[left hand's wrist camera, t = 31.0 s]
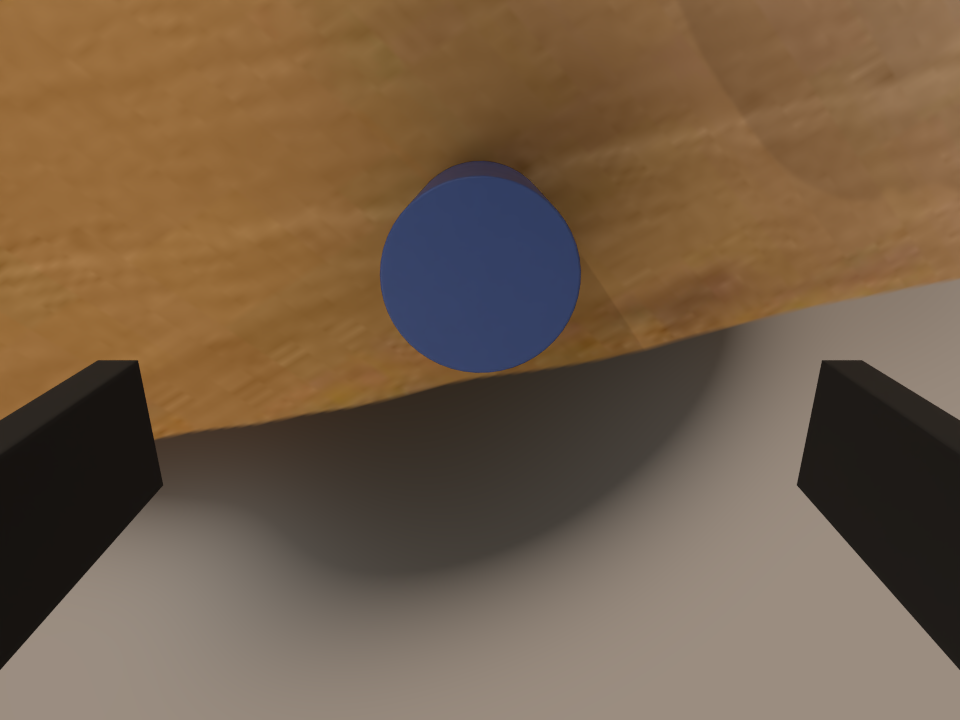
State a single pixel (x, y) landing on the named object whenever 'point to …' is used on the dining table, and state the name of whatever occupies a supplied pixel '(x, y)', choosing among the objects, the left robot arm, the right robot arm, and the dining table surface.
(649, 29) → the dining table surface
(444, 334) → the canister
